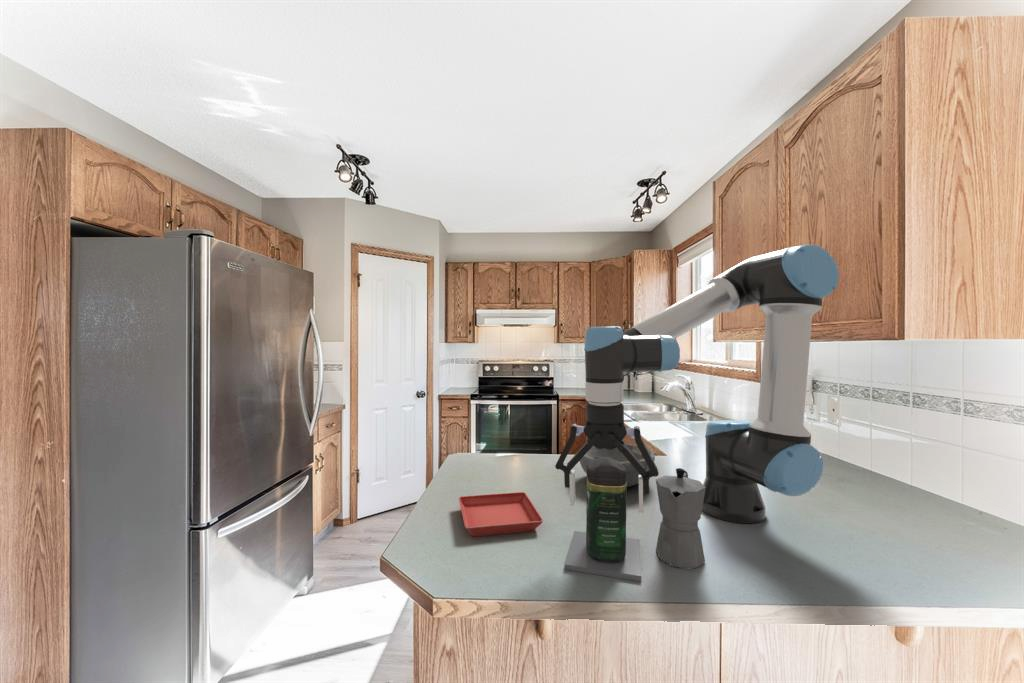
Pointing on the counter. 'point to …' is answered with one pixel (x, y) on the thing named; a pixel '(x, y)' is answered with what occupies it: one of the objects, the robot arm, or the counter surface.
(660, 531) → the coffeepot
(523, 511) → the plant saucer
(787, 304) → the robot arm
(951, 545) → the counter surface
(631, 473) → the bowl
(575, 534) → the plate
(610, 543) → the coffee jar
